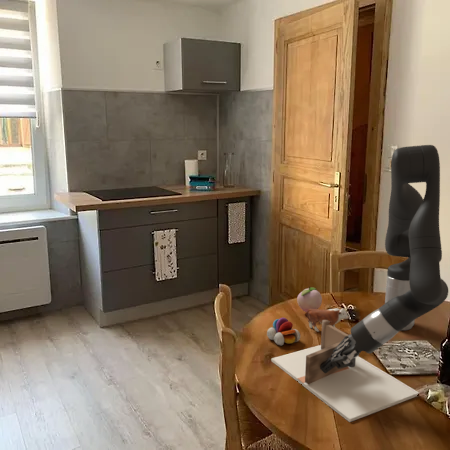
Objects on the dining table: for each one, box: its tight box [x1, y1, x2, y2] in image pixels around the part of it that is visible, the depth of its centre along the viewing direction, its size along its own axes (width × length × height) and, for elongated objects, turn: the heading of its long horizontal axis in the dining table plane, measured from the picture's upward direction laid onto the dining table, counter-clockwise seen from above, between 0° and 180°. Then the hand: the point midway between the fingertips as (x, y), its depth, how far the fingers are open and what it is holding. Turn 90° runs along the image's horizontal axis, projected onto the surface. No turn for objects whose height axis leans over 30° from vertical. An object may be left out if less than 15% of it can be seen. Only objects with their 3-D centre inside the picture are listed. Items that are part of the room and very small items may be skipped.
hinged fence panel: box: [305, 342, 345, 384], centre depth 126 cm, size 16×1×8 cm, turn 126°
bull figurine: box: [306, 307, 349, 333], centre depth 155 cm, size 4×13×8 cm, turn 79°
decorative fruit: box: [296, 286, 323, 313], centre depth 169 cm, size 9×8×10 cm
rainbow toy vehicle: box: [266, 317, 301, 346], centre depth 148 cm, size 8×10×7 cm
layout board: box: [270, 320, 420, 423], centre depth 127 cm, size 23×32×10 cm
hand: (322, 369), depth 123 cm, fingers closed
